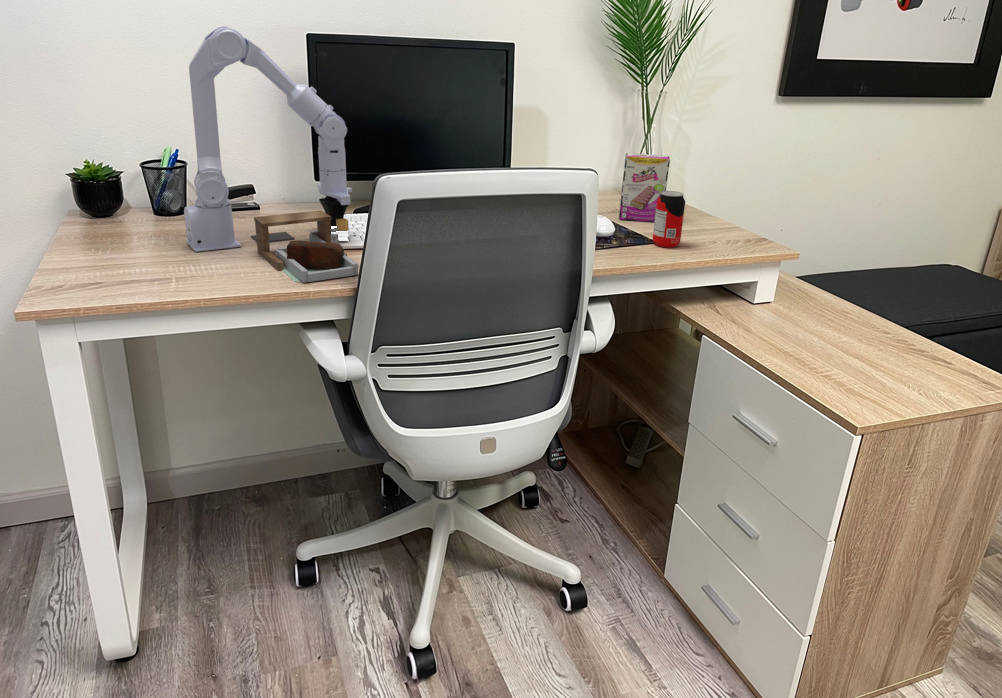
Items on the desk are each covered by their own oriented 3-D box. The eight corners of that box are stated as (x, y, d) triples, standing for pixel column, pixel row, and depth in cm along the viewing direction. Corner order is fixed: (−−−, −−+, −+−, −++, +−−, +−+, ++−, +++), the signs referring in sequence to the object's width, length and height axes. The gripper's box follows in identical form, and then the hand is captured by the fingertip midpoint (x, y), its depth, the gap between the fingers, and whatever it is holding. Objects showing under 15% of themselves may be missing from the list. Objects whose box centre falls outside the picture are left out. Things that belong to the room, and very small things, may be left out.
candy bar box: (618, 220, 200) (624, 155, 193) (618, 216, 204) (624, 152, 198) (662, 223, 199) (670, 158, 192) (662, 218, 203) (669, 154, 197)
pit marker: (258, 243, 170) (258, 242, 170) (250, 236, 174) (250, 235, 174) (294, 239, 174) (294, 238, 174) (285, 232, 178) (285, 231, 178)
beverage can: (682, 248, 177) (689, 196, 172) (655, 248, 177) (661, 195, 172) (675, 241, 183) (682, 190, 178) (649, 240, 183) (654, 189, 178)
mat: (295, 282, 147) (295, 281, 147) (278, 268, 155) (278, 267, 155) (359, 273, 154) (359, 272, 154) (340, 259, 161) (340, 258, 161)
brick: (287, 268, 153) (286, 244, 151) (291, 262, 156) (290, 239, 155) (341, 270, 153) (341, 247, 152) (344, 264, 157) (344, 242, 155)
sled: (303, 282, 146) (301, 258, 144) (263, 249, 165) (261, 227, 163) (393, 269, 155) (393, 246, 154) (345, 238, 175) (344, 218, 173)
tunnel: (278, 270, 153) (274, 233, 150) (257, 252, 164) (253, 217, 161) (347, 261, 160) (345, 225, 157) (322, 244, 171) (320, 210, 168)
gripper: (362, 173, 167) (364, 235, 172) (337, 162, 178) (340, 220, 184) (331, 176, 163) (334, 239, 169) (307, 164, 175) (311, 224, 180)
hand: (335, 230), depth 176 cm, fingers closed
